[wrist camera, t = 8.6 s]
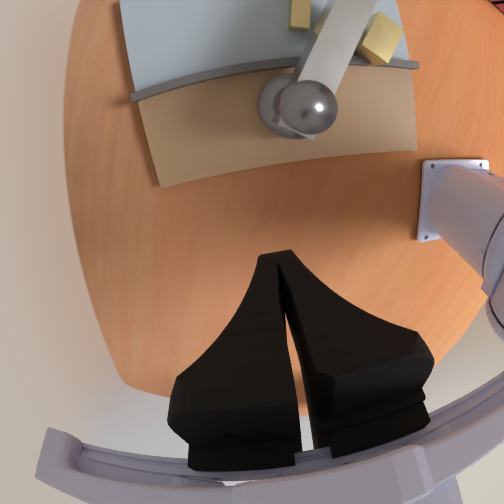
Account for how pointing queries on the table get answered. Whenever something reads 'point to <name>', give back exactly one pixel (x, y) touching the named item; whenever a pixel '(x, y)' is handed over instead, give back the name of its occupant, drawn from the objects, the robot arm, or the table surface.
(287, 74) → the pivot base
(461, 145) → the table surface
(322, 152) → the door board
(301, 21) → the block
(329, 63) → the latch bar
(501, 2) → the puzzle cube
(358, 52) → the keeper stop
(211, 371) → the robot arm
